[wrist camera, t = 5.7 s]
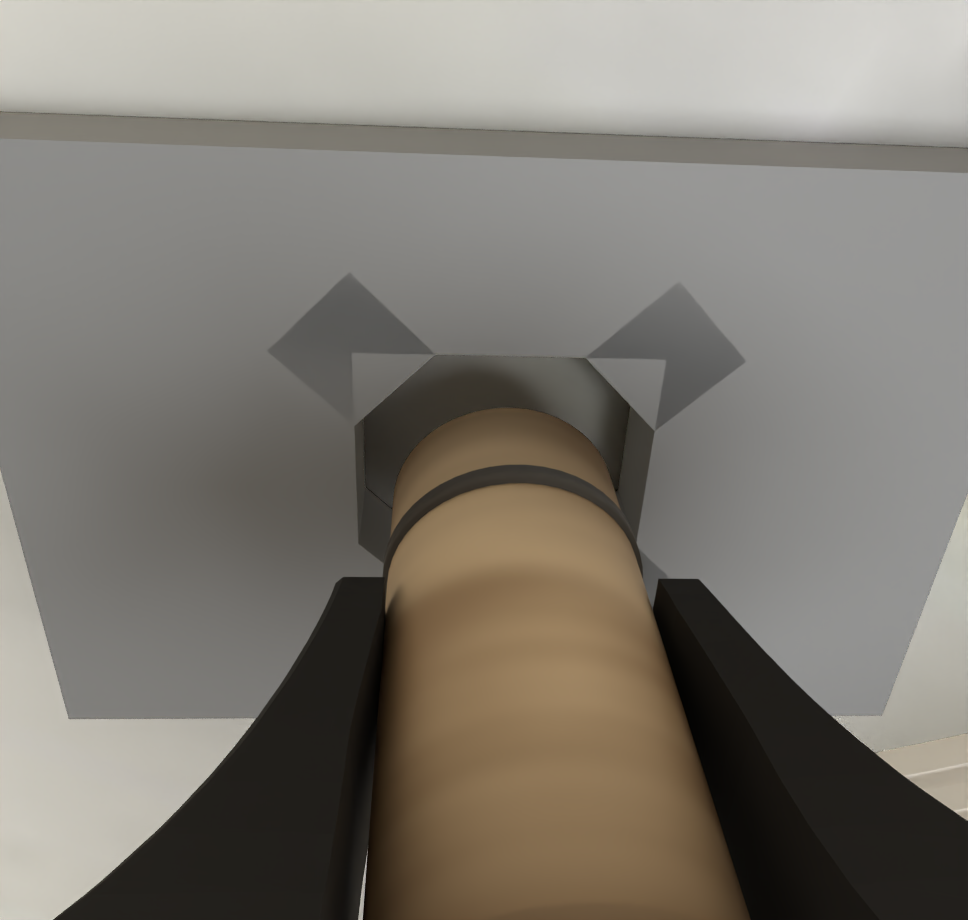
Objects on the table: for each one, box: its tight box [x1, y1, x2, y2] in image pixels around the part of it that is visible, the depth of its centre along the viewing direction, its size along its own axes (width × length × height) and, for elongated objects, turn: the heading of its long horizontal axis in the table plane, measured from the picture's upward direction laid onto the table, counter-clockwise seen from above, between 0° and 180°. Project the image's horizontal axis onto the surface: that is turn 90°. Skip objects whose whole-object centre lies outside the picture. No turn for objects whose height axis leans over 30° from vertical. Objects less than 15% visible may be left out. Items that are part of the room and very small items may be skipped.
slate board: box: [0, 112, 968, 719], centre depth 17 cm, size 12×18×2 cm, turn 87°
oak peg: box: [363, 408, 751, 920], centre depth 12 cm, size 4×4×9 cm
